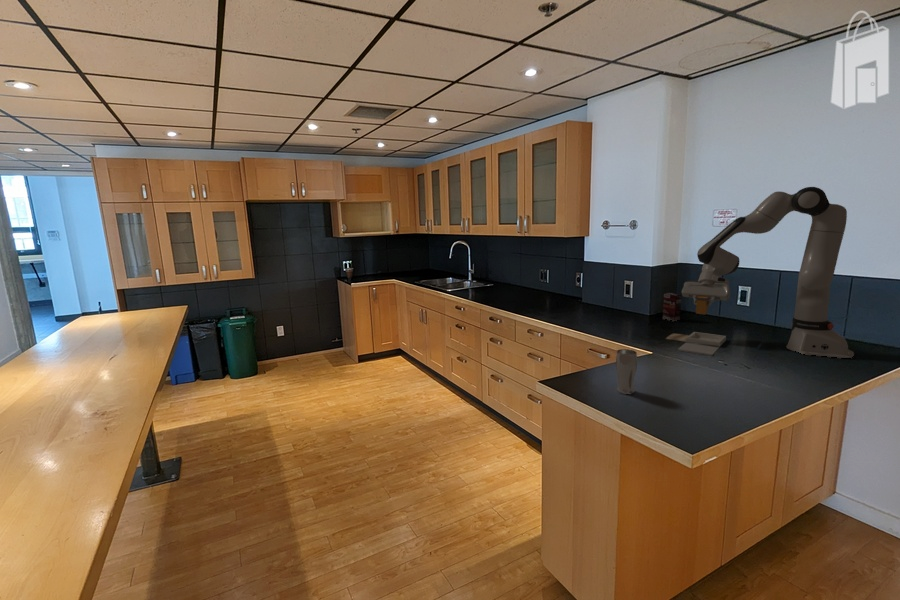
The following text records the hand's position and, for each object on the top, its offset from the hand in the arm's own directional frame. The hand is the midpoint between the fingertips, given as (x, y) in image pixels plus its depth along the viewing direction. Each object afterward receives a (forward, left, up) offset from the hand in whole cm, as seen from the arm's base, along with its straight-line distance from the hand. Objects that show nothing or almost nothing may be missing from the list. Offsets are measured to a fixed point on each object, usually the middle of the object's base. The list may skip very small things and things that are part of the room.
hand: (701, 304), depth 203 cm
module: (0, -1, -4) cm, 4 cm away
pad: (+9, -1, -19) cm, 21 cm away
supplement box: (+24, -41, -19) cm, 51 cm away
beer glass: (+5, +80, -19) cm, 83 cm away
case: (-3, +6, -19) cm, 20 cm away
